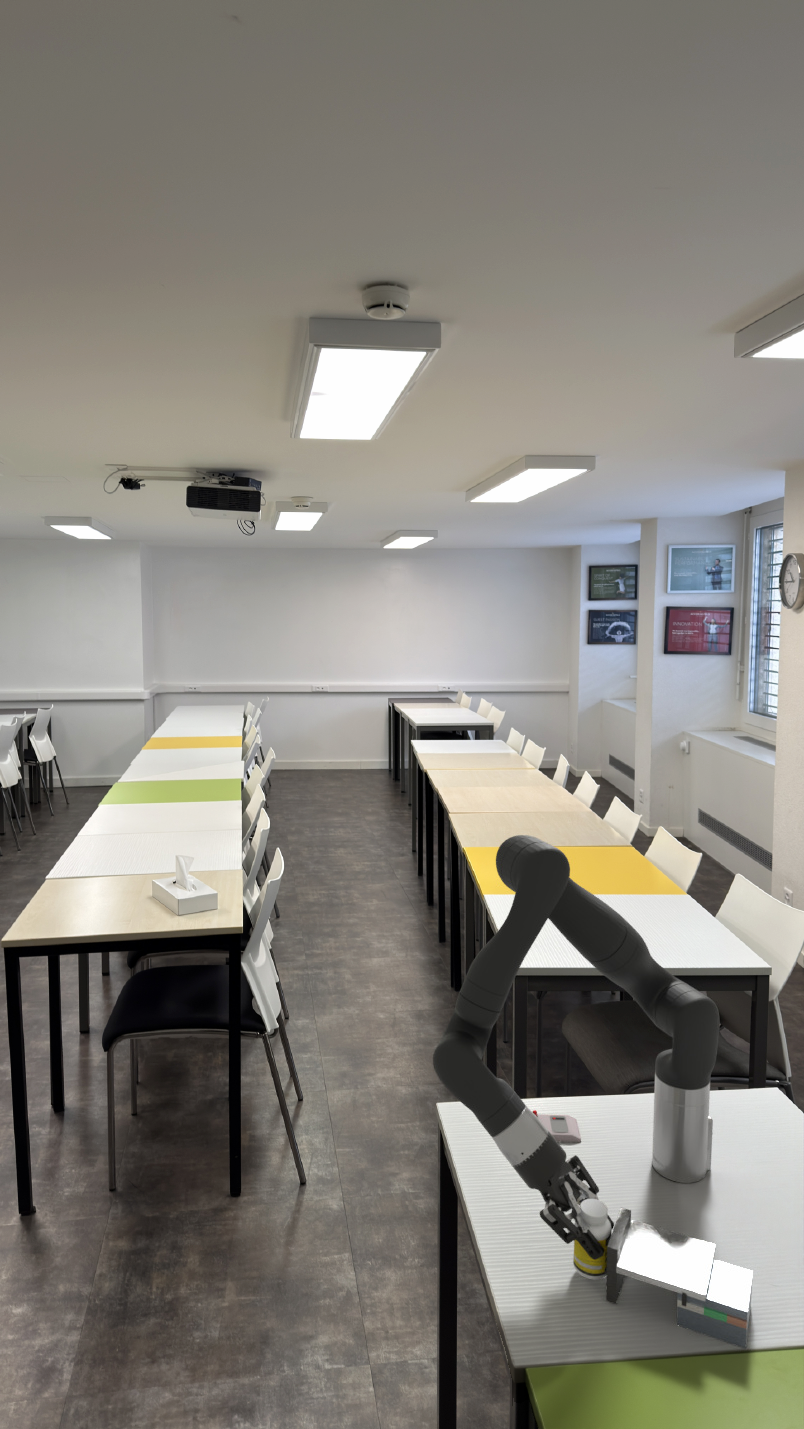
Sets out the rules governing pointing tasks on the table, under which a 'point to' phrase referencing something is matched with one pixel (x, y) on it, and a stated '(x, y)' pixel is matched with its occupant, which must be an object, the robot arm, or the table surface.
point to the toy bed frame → (657, 1259)
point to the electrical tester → (561, 1127)
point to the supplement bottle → (601, 1229)
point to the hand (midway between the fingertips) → (604, 1241)
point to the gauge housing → (721, 1305)
